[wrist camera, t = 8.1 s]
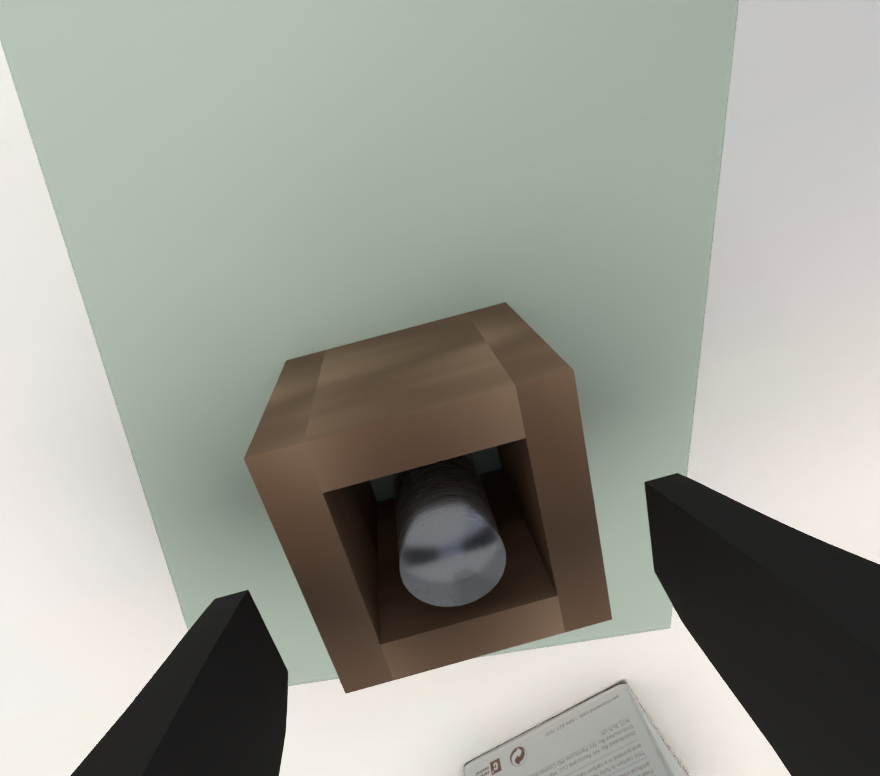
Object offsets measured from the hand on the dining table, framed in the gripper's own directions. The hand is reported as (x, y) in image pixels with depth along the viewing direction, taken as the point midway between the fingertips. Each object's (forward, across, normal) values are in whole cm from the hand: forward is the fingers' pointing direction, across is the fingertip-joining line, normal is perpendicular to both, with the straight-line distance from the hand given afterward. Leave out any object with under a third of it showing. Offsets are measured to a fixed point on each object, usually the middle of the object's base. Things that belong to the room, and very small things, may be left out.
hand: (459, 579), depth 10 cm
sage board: (+6, 0, -2) cm, 7 cm away
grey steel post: (+6, 0, 0) cm, 7 cm away
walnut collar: (+6, 0, 0) cm, 6 cm away
